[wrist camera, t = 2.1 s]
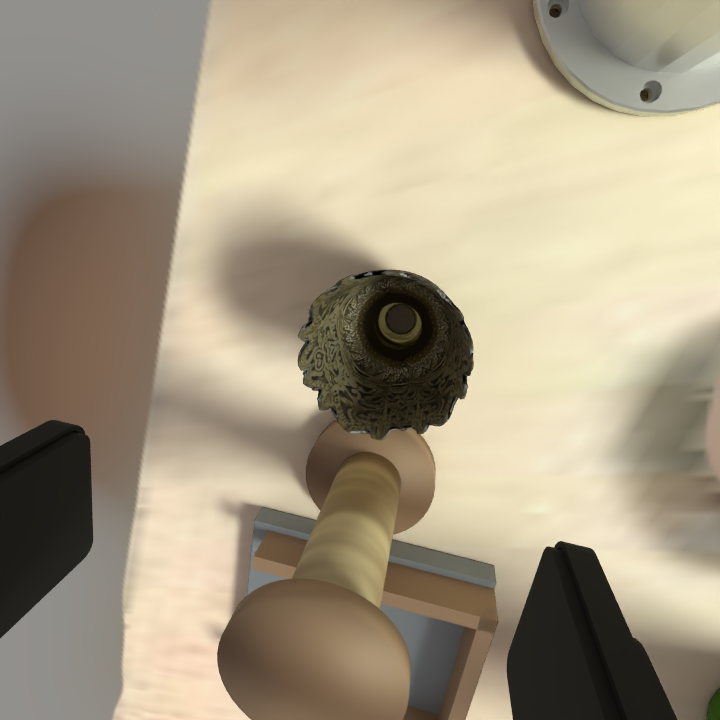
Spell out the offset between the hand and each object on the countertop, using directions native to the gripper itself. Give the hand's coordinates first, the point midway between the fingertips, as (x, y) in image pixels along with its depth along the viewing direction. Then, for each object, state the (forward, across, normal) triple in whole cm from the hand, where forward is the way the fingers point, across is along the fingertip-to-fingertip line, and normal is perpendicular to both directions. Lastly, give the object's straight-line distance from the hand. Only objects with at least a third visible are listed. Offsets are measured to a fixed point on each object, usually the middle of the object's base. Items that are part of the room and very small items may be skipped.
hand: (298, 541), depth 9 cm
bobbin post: (+19, 0, +10) cm, 21 cm away
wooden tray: (+19, -1, +22) cm, 29 cm away
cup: (+19, 0, 0) cm, 19 cm away
